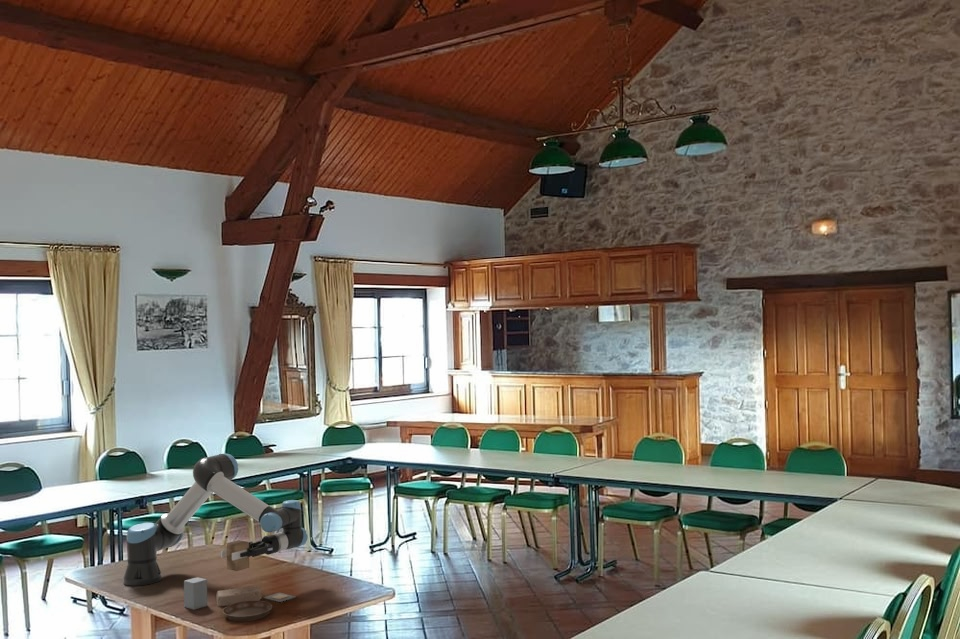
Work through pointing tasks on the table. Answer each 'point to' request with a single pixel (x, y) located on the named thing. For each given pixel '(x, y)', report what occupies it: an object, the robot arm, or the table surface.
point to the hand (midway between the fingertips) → (226, 555)
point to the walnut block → (238, 563)
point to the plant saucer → (247, 610)
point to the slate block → (195, 593)
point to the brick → (238, 595)
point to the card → (279, 597)
